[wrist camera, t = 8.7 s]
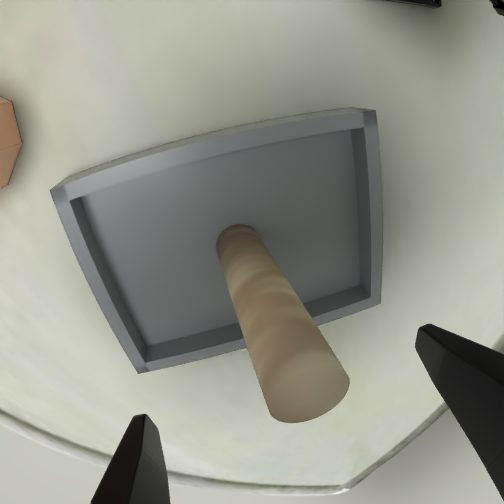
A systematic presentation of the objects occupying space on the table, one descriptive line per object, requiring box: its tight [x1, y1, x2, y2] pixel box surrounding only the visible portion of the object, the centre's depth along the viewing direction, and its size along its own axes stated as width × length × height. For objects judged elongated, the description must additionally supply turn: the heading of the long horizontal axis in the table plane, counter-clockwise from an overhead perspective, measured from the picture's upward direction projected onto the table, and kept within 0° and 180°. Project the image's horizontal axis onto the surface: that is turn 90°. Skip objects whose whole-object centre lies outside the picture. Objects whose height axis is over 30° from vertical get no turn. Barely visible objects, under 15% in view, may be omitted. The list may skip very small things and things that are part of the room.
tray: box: [50, 107, 383, 374], centre depth 17 cm, size 16×12×2 cm
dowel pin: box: [216, 224, 350, 423], centre depth 13 cm, size 2×2×10 cm
